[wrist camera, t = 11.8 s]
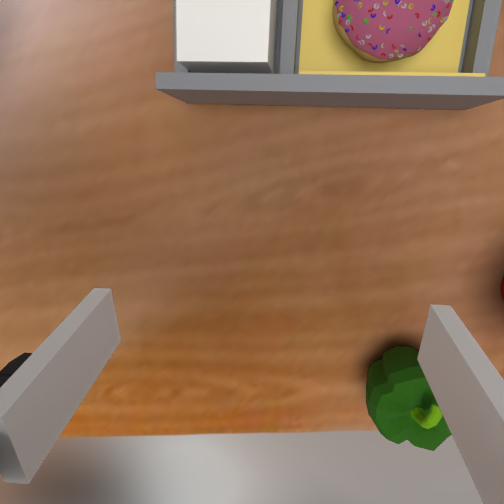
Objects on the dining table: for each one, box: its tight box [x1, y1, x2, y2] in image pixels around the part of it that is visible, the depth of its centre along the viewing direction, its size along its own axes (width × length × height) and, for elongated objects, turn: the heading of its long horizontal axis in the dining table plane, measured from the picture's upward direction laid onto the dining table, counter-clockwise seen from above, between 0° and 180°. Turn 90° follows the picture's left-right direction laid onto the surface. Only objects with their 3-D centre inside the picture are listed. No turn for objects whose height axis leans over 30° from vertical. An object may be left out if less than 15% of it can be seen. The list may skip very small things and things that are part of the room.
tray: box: [155, 0, 504, 110], centre depth 30 cm, size 26×14×8 cm, turn 88°
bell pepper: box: [366, 346, 452, 451], centre depth 36 cm, size 8×8×10 cm
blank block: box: [176, 0, 279, 74], centre depth 30 cm, size 7×10×7 cm
